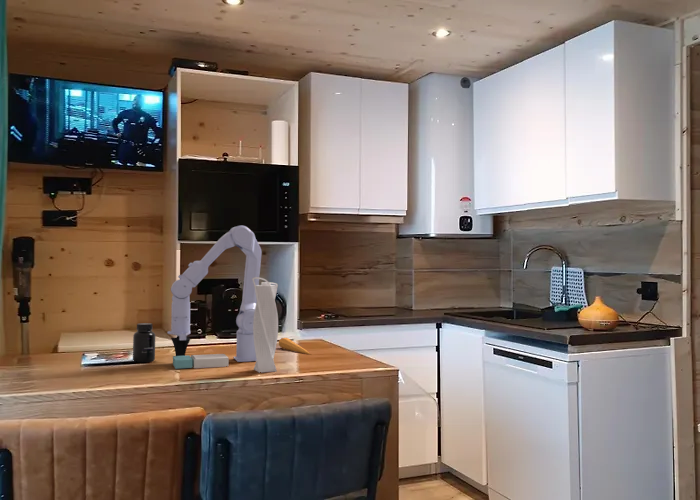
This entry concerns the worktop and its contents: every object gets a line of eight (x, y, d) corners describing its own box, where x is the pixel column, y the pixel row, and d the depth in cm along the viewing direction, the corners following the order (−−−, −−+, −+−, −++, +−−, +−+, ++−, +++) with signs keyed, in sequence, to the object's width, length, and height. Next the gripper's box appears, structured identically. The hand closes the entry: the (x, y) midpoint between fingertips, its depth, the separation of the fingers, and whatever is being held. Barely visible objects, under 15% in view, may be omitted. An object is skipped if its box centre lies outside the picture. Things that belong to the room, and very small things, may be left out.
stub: (189, 363, 196) (189, 355, 196) (192, 367, 188) (192, 359, 188) (172, 364, 194) (172, 356, 194) (175, 368, 186) (175, 360, 186)
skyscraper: (255, 373, 181) (256, 277, 181) (247, 369, 187) (248, 276, 188) (281, 371, 185) (282, 277, 185) (272, 367, 191) (273, 276, 191)
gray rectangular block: (224, 362, 200) (224, 353, 200) (228, 366, 192) (228, 357, 192) (190, 363, 196) (191, 354, 196) (194, 368, 188) (194, 359, 188)
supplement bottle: (148, 363, 196) (148, 325, 196) (128, 362, 198) (128, 324, 198) (159, 359, 203) (159, 322, 203) (139, 358, 204) (140, 322, 204)
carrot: (278, 350, 231) (275, 339, 229) (288, 344, 233) (285, 334, 232) (308, 363, 215) (305, 352, 214) (318, 357, 217) (315, 346, 216)
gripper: (165, 315, 203) (165, 357, 202) (169, 320, 189) (169, 364, 189) (188, 314, 205) (187, 356, 205) (193, 319, 191) (192, 363, 191)
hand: (180, 360), depth 197 cm, fingers closed
